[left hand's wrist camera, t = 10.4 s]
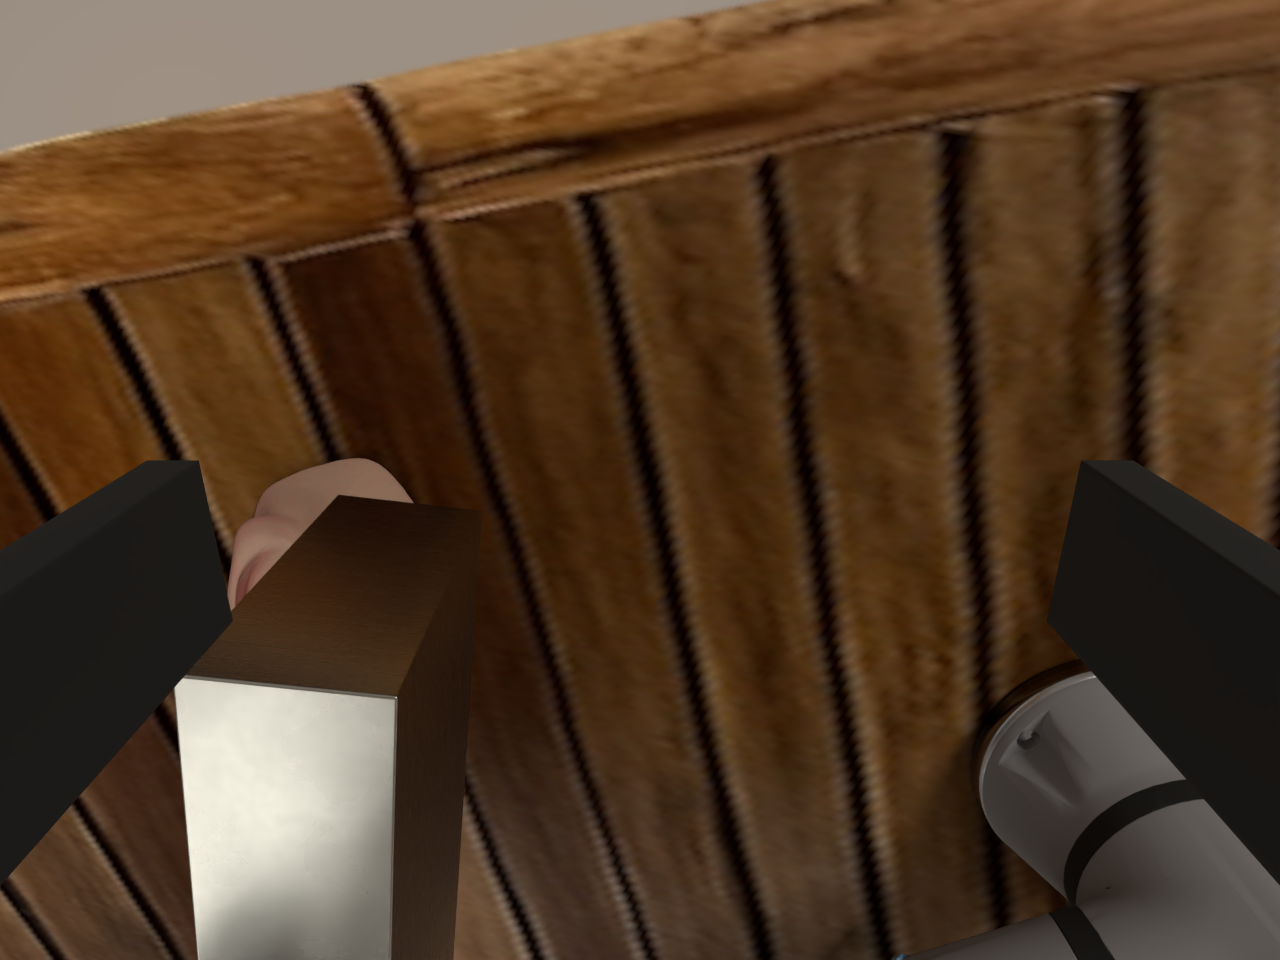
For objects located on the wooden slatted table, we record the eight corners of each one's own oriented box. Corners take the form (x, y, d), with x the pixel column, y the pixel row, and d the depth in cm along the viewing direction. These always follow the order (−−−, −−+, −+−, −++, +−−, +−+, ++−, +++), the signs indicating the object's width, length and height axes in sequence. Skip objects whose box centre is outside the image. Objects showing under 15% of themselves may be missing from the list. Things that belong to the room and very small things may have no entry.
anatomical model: (307, 446, 40) (477, 598, 43) (335, 421, 43) (490, 563, 46) (146, 604, 43) (315, 735, 46) (185, 569, 47) (339, 692, 50)
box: (337, 493, 34) (170, 674, 21) (482, 510, 34) (397, 697, 22) (339, 964, 43) (224, 1274, 31) (452, 974, 43) (382, 1284, 31)
